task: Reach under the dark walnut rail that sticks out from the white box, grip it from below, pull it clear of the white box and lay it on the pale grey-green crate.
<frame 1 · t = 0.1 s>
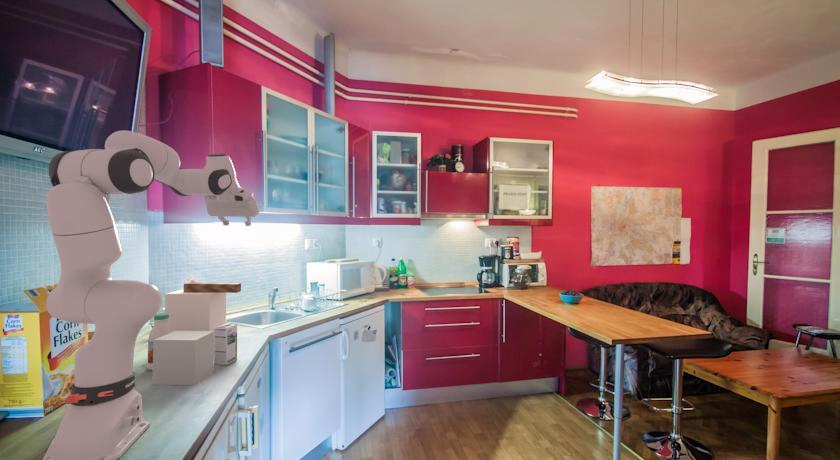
hand: (237, 225, 144), 54 cm above the countertop, tool tilted 30°, fingers open, 8 cm apart
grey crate: (184, 378, 122), on the countertop
walnut rail: (212, 291, 147), point 26 cm above the countertop, touching white box
white box: (195, 353, 146), on the countertop
syrup box: (225, 362, 137), on the countertop
milk bottle: (160, 367, 131), on the countertop
white plastic fitting: (170, 336, 169), on the countertop
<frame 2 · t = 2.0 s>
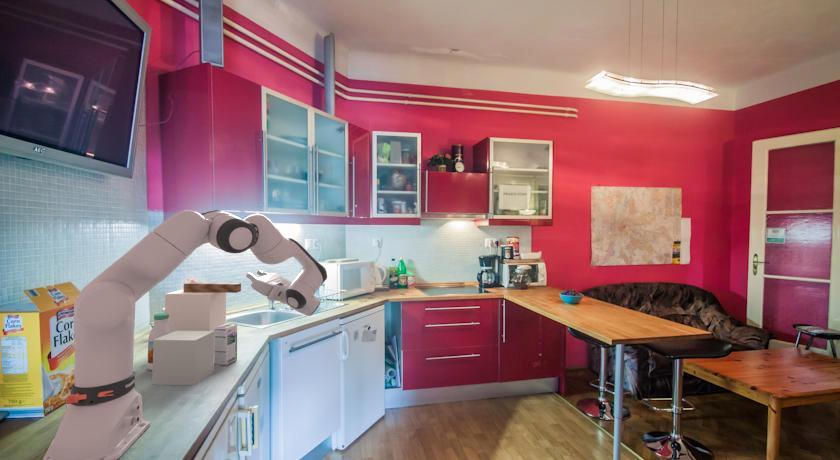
hand: (253, 273, 142), 35 cm above the countertop, tool pointing upward, fingers open, 8 cm apart
nothing on the countertop moved.
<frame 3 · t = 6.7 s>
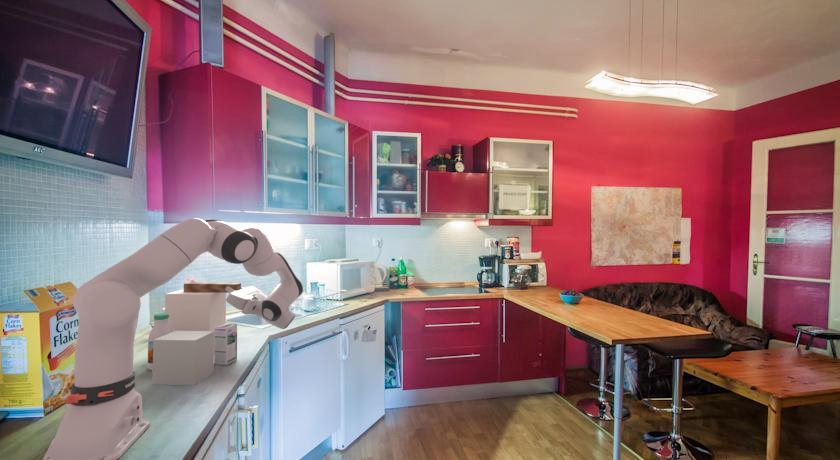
hand: (229, 286, 147), 28 cm above the countertop, tool pointing upward, fingers closed on walnut rail, 3 cm apart
walnut rail: (212, 291, 147), point 26 cm above the countertop, touching gripper, white box
everything else where it was.
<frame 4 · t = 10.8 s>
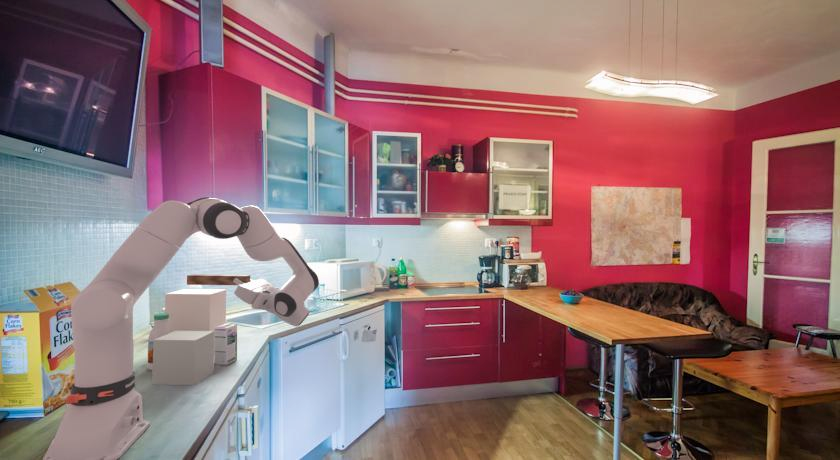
hand: (238, 278, 133), 34 cm above the countertop, tool pointing upward, fingers closed on walnut rail, 3 cm apart
walnut rail: (218, 284, 133), point 31 cm above the countertop, touching gripper
everything else where it was.
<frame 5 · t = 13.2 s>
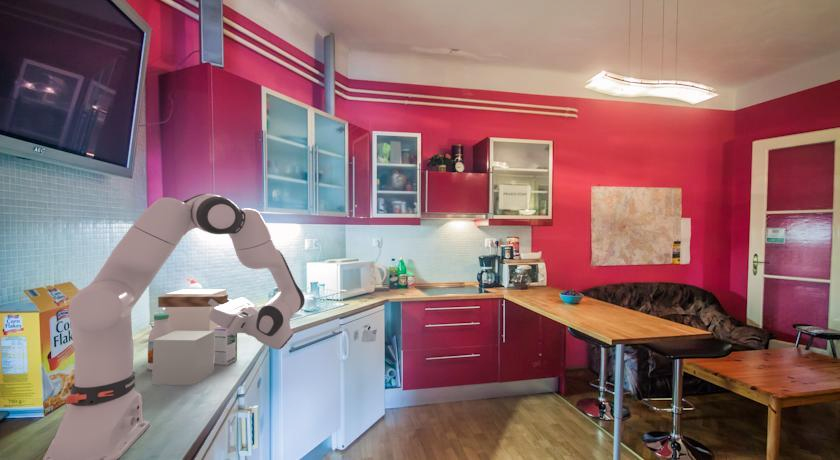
hand: (214, 299, 122), 28 cm above the countertop, tool pointing upward, fingers closed on walnut rail, 3 cm apart
walnut rail: (193, 305, 122), point 25 cm above the countertop, touching gripper
everything else where it was.
when the fingers open (18 cm above the countertop, at t = 15.1 s): walnut rail drops 1 cm, resting on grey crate.
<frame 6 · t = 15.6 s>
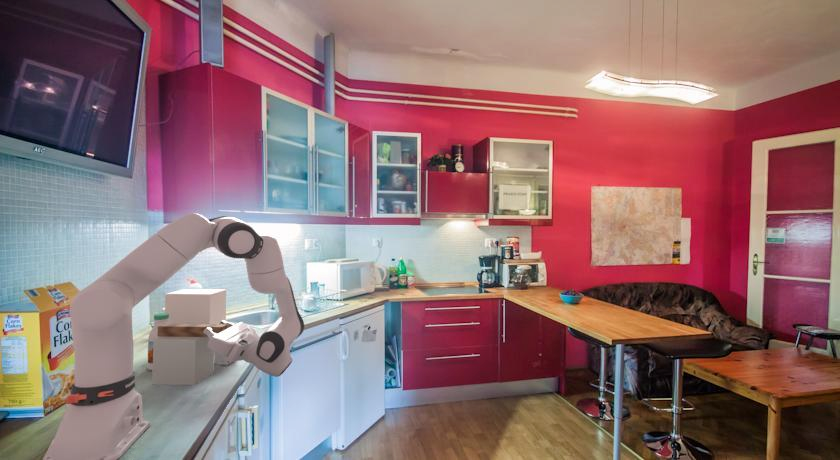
hand: (213, 325, 122), 18 cm above the countertop, tool pointing upward, fingers open, 8 cm apart
walnut rail: (192, 335, 122), point 15 cm above the countertop, touching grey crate
everything else where it was.
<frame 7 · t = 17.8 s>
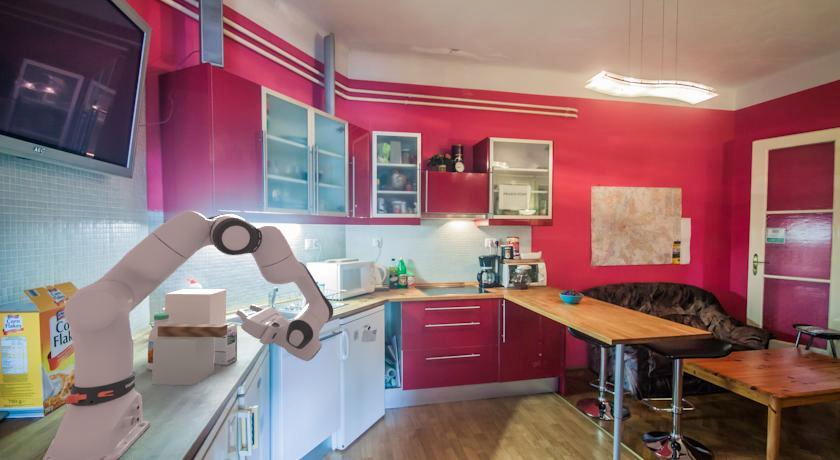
hand: (244, 308, 123), 25 cm above the countertop, tool pointing upward, fingers open, 8 cm apart
nothing on the countertop moved.
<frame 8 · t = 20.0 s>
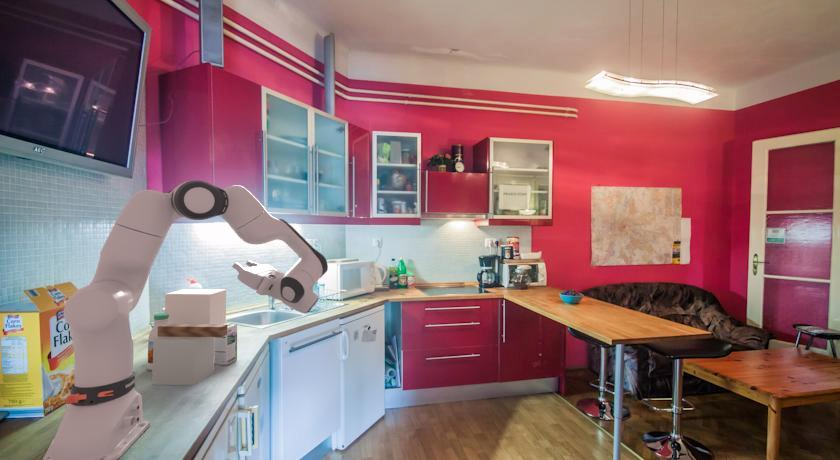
hand: (241, 263, 124), 40 cm above the countertop, tool pointing upward, fingers open, 8 cm apart
nothing on the countertop moved.
at the end: walnut rail inside the target area on the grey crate (2.6 cm from its centre), point 15.0 cm above the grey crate's base; walnut rail touching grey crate; the gripper is holding nothing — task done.
